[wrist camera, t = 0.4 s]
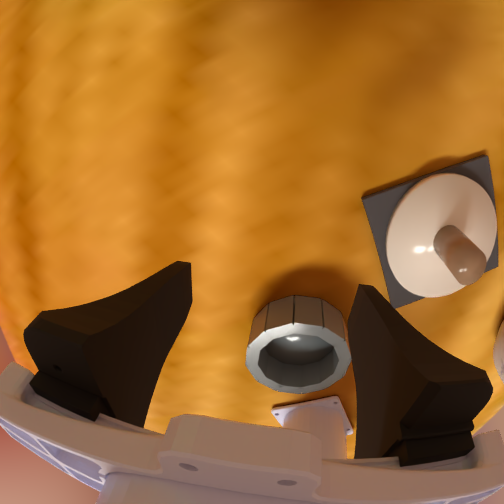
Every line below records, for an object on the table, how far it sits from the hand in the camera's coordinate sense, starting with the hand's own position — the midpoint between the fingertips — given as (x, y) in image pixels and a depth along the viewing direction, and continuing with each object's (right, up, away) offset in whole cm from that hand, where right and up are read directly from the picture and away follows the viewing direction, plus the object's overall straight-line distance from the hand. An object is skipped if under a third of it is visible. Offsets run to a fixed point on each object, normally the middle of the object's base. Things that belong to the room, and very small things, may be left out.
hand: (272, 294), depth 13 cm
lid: (+14, +3, +7) cm, 16 cm away
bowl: (+3, -6, +13) cm, 15 cm away
